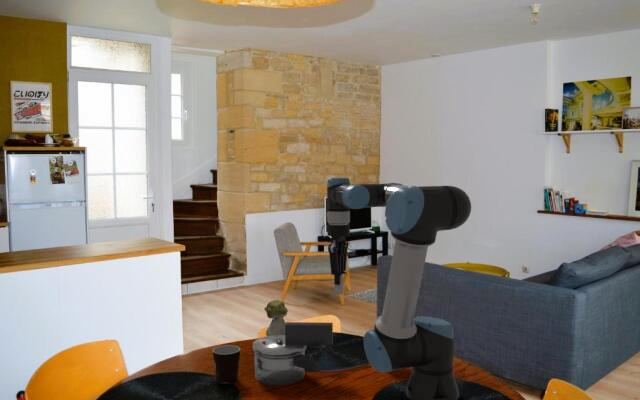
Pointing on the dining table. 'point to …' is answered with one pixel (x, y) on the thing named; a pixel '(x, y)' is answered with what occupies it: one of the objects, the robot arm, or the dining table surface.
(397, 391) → the dining table surface
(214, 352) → the coffee mug
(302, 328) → the lid
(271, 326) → the green sculpted bust
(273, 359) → the pot
